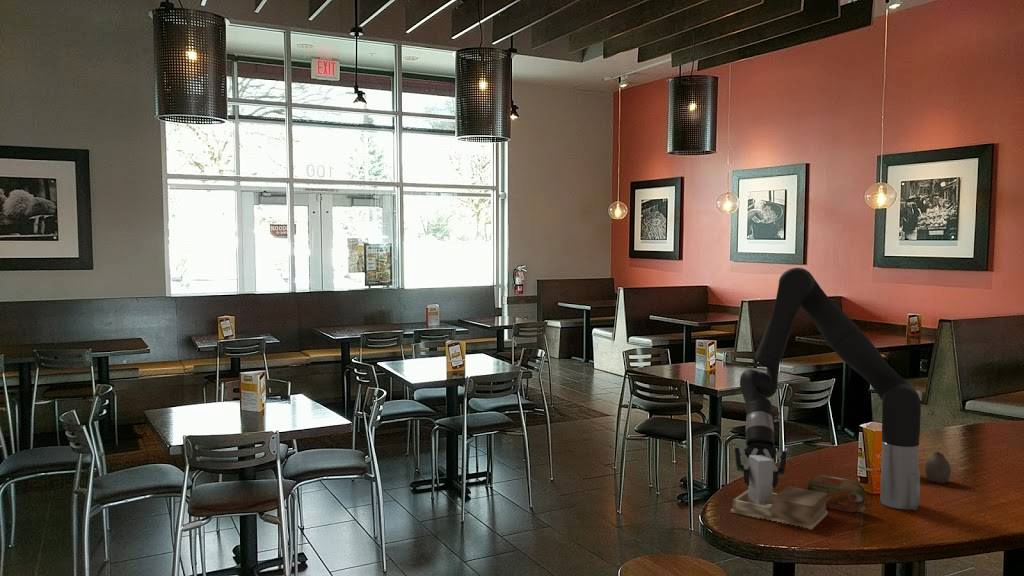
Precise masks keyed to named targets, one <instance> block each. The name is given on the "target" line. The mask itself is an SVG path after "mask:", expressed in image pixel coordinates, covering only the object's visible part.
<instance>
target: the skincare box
mask: <svg viewBox="0 0 1024 576" xmlns="http://www.w3.org/2000/svg"><path fill="white" fill-rule="evenodd" d="M773 461H774V459H773V460H771V459H769V458H767V457H765V456H764V455H749V464H750V467H749V486H748V487H747V490H748V498H749V499H750V500H752V501H754V502H755V503H757V504H759V505H766V504H772V501H771V498H772V497H773V493H774V491H773V489H774V488H773Z"/></svg>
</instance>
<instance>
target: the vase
mask: <svg viewBox="0 0 1024 576" xmlns="http://www.w3.org/2000/svg"><path fill="white" fill-rule="evenodd" d="M924 472H925V476H926V477H927V479H928V480H929V482H931V481H932V482H931V483H934V482H936V483H935V484H945V482H946V483H947V482H948V481H949V480H950V478H951V474H952V468H951V464H950V462H949V460H948V459H946V457H945V456H944V454H943V452H938V451H934V452H933V454H932V455H931V456H930V457H929V458H928V459H927V461H926V462H925V466H924Z"/></svg>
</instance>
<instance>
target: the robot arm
mask: <svg viewBox="0 0 1024 576" xmlns="http://www.w3.org/2000/svg"><path fill="white" fill-rule="evenodd" d="M777 286H778V287H777V292H776V298H775V301H774V306H773V310H772V312H771V315H770V316H771V317H770V318H769V321H768V324H767V326H766V328H765V331H764V333H763V336H762V338H761V340H760V344H759V346H758V349H757V351H756V354H755V361H756V362H757V363H758V364H759V365H762V366H764V367H765V368H766V372H762V371H759V370H755V369H752V368H751V369H750V368H749V369H745V370H744V371H743V372H742V373H741V375H740V377H739V386H740V391H741V394H742V397H743V399H744V403H745V407H746V408H745V409H746V420H745V430H744V431H745V447H744V448H741V449H740V448H739V447H735V448H734V460H735V466H736V470H737V472H742V473H743V483H744V484H746V486H749V467H750V464H749V455H764V456H765V457H767V458H769V459H771V460H773V489H775V488H776V487H778V485H779V475H784V474H785V469H786V460H787V451H786V450H782V451H777V449H776V448H775V429H774V421H773V420H774V419H773V405H772V402H771V400H769V398H771V397H773V396H774V395H775V394H776V392H777V389H778V380H779V370H780V364H781V361H782V358H783V356H784V353H785V351H786V349H787V346H788V341H789V339H790V335H791V330H792V326H793V324H794V321H795V317H796V315H797V313H798V311H799V309H800V308H802V309H803V310H804V312H806V314H808V316H809V317H810V318H811V319H812V321H813V323H814V325H815V326H816V328H817V330H818V331H819V332H820V334H821V336H822V337H823V339H824V340H825V341H826V343H827V344H828V346H829V347H830V348H831V349H832V350H833V351H834V353H835V354H836V355H837V356H838V357H839V358H840V359H841V360H842V361H843V362H844V363H845V364H846V365H848V366H849V367H850V368H851V369H852V370H854V371H855V372H856V373H858V374H859V375H860V376H862V377H863V379H864V380H866V381H867V383H868V384H869V385H870V386H871V387H872V389H873V390H874V391H875V393H876V394H877V395H878V397H879V399H880V400H881V401H882V402H881V403H882V404H881V406H882V407H881V410H882V411H881V430H882V453H881V473H880V493H879V494H880V499H879V500H880V502H879V503H881V504H882V505H884V506H886V507H888V508H892V509H897V510H913V511H916V510H917V509H918V507H919V506H920V503H921V502H920V501H921V500H920V499H921V497H920V495H921V470H920V469H919V467H920V466H919V465H920V439H921V414H922V410H921V408H922V407H921V406H922V404H921V398H920V395H919V393H918V391H917V390H916V388H915V387H913V385H911V384H910V383H909V382H907V381H906V379H904V378H903V377H902V376H901V375H900V374H898V373H897V372H896V370H894V369H893V368H892V367H891V365H890V364H889V363H888V362H887V361H886V360H885V358H884V357H883V355H882V354H881V353H880V351H879V350H878V349H877V347H876V346H875V344H874V343H873V342H872V341H871V340H870V339H869V338H868V336H867V335H866V334H865V333H864V332H863V331H862V329H860V328H859V326H858V325H857V323H855V322H854V321H853V320H852V319H851V318H850V317H849V316H848V315H847V314H846V313H845V312H844V311H843V310H842V309H841V308H839V307H838V306H837V305H836V304H835V303H834V302H833V301H832V300H831V298H829V296H828V295H827V294H826V292H825V291H824V290H823V289H822V287H821V286H820V285H819V283H818V282H817V280H816V279H815V278H814V276H813V274H812V273H811V272H810V271H809V270H807V269H805V268H802V267H793V268H789V269H787V270H786V271H784V272H783V273H782V274H781V276H780V277H779V280H778V285H777ZM743 455H745V456H746V457H747V459H746V463H745V464H743V463H742V460H741V458H743ZM776 457H777V459H778V460H779V461H780V465H779V467H777V464H775V461H774V459H775V458H776Z"/></svg>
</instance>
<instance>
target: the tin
mask: <svg viewBox="0 0 1024 576" xmlns="http://www.w3.org/2000/svg"><path fill="white" fill-rule="evenodd" d="M807 490H812V491H817V492H823V493H827V496H826V509H832V510H837V511H843V512H845V513H846V512H847V513H854V512H855V513H856V512H859V510H861V509H862V508H863V507H864V506H865V504H866V502H867V492H866V490H865V488H864V486H863V485H861V483H859V482H858V481H856V480H853V479H848V478H842V477H835V476H830V475H824V474H822V475H817V476H814V477H812V478H811V479H810V480H809V482H808V484H807Z"/></svg>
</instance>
